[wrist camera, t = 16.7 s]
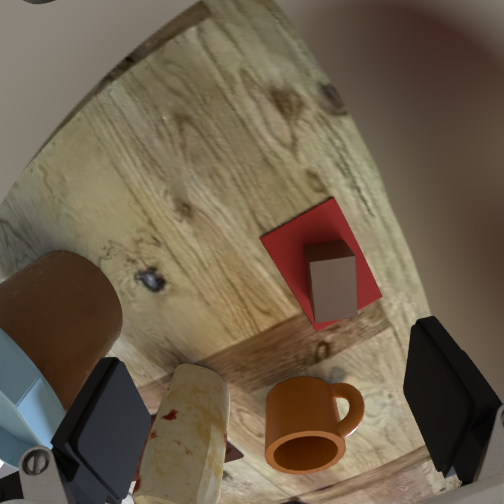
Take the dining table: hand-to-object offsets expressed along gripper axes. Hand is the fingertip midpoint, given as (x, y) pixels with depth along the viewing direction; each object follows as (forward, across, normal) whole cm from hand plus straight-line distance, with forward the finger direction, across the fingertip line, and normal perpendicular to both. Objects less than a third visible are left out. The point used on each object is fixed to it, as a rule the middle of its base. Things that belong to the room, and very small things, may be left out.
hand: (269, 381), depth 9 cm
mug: (+22, -2, +24) cm, 33 cm away
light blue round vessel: (+22, +24, +7) cm, 34 cm away
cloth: (+22, -5, +6) cm, 23 cm away
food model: (+22, +10, +20) cm, 31 cm away
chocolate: (+22, -5, +6) cm, 23 cm away
